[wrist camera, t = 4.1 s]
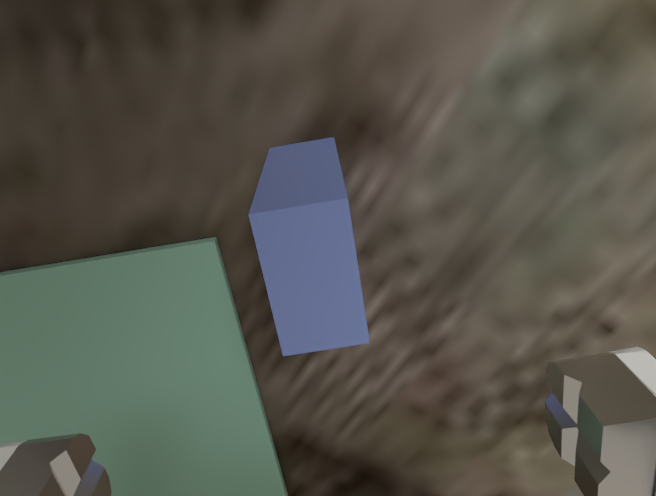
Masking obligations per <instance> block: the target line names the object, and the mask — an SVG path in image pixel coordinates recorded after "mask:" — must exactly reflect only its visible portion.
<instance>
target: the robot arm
mask: <svg viewBox="0 0 656 496" xmlns="http://www.w3.org/2000/svg"><path fill="white" fill-rule="evenodd" d="M545 382H546V383H547V385H548V386H549V388H550V389H551V391H552V394H551V395H550V396H549V397H548V399H547V400H546V401H545V418H546V423H547V427H548V431H549V435H550V437H551V439H552V442H553V444H554V446H555V448H556V450H557V451H558V453H559V455H560V457H561V458H562V459H564V460H566V461H567V462H569V463H571V464H572V465H574V466H575V482H576V483H577V485H578V487H579V488H580V490H581V492H582V493H583V495H584V496H656V359H655V358H654V357H653V356H651V355H650V354H649V353H648V352H647V351H646V350H644V349H642V348H639V347H634V348H628V349H622V350H617V351H611V352H607V353H603V354H597V355H591V356H584V357H578V358H572V359H565V360H559V361H553V362H548V365H547V367H546V376H545ZM95 451H96V448H95V446H94V444H93V442H92V440H91V438H90V437H89V435H86V434H82V433H78V434H70V435H62V436H55V437H47V438H39V439H31V440H27V441H19V442H12V443H4V444H0V496H111V485H110V479H109V476H108V474H107V472H106V469H105V468H104V467H103V466H101V465H100V464H98V463H97V462H95V461H93V460H92V458H93V456H94V453H95Z"/></svg>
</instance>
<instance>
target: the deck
mask: <svg viewBox="0 0 656 496" xmlns="http://www.w3.org/2000/svg"><path fill="white" fill-rule="evenodd" d="M248 215H249V219H250V223H251V227H252V231H253V235H254V240H255V244H256V248H257V252H258V256H259V260H260V264H261V268H262V272H263V276H264V281H265V285H266V289H267V293H268V297H269V301H270V305H271V309H272V313H273V317H274V322H275V326H276V330H277V334H278V338H279V342H280V346H281V350H282V354H283V356H289V355H296V354H302V353H309V352H315V351H322V350H328V349H335V348H341V347H347V346H354V345H360V344H367V343H370V341H369V334H368V328H367V321H366V315H365V308H364V301H363V295H362V288H361V282H360V275H359V268H358V262H357V255H356V249H355V242H354V235H353V229H352V222H351V216H350V209H349V202H348V197H347V192H346V188H345V183H344V179H343V175H342V170H341V166H340V161H339V157H338V153H337V148H336V144H335V140H334V137H331V138H325V139H319V140H313V141H307V142H301V143H295V144H289V145H283V146H278V147H272V148H269V151H268V154H267V158H266V161H265V164H264V167H263V170H262V173H261V176H260V180H259V183H258V186H257V189H256V192H255V195H254V198H253V202H252V205H251V208H250V211H249V214H248Z"/></svg>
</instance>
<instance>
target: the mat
mask: <svg viewBox="0 0 656 496" xmlns="http://www.w3.org/2000/svg"><path fill="white" fill-rule="evenodd" d="M78 433H82V434H86V435H89V437H90V438H91V440H92V442H93V444H94V446H95V448H96V451H95V453H94V456H93V458H92V460H93V461H95V462H97V463H98V464H100V465H101V466H103V467H104V468H105V469H106V472H107V474H108V476H109V479H110V485H111V496H288V493H287V489H286V486H285V482H284V479H283V475H282V471H281V468H280V464H279V461H278V457H277V453H276V450H275V446H274V443H273V439H272V436H271V432H270V428H269V425H268V421H267V418H266V414H265V410H264V407H263V403H262V400H261V396H260V392H259V389H258V385H257V382H256V378H255V375H254V371H253V367H252V364H251V360H250V357H249V353H248V349H247V346H246V342H245V339H244V335H243V331H242V328H241V324H240V321H239V317H238V313H237V310H236V306H235V303H234V299H233V296H232V292H231V288H230V285H229V281H228V278H227V274H226V270H225V267H224V263H223V260H222V256H221V252H220V249H219V245H218V242H217V238H216V237H212V238H206V239H200V240H194V241H188V242H182V243H176V244H169V245H163V246H157V247H151V248H145V249H139V250H133V251H127V252H121V253H114V254H108V255H102V256H96V257H90V258H84V259H78V260H72V261H66V262H60V263H53V264H47V265H41V266H35V267H29V268H23V269H17V270H11V271H5V272H0V444H4V443H12V442H19V441H27V440H31V439H39V438H47V437H55V436H62V435H70V434H78Z"/></svg>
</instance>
